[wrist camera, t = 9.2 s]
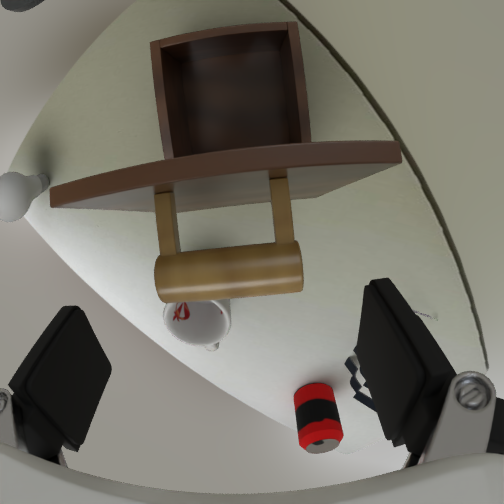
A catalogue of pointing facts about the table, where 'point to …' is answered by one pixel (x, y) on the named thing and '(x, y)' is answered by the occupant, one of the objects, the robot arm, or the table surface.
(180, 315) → the cup
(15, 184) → the lightbulb
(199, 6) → the table surface
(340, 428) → the soda can
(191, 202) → the lid
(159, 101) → the chest
